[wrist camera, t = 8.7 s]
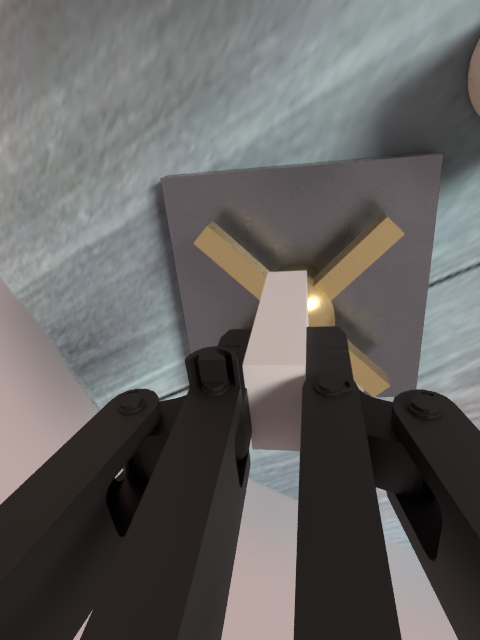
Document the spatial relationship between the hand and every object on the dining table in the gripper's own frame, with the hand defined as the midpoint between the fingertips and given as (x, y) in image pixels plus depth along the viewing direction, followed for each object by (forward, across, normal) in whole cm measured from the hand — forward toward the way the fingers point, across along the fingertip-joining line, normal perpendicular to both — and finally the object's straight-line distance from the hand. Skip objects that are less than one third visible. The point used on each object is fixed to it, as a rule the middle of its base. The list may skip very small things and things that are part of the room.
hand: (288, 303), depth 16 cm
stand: (+21, 0, -8) cm, 22 cm away
